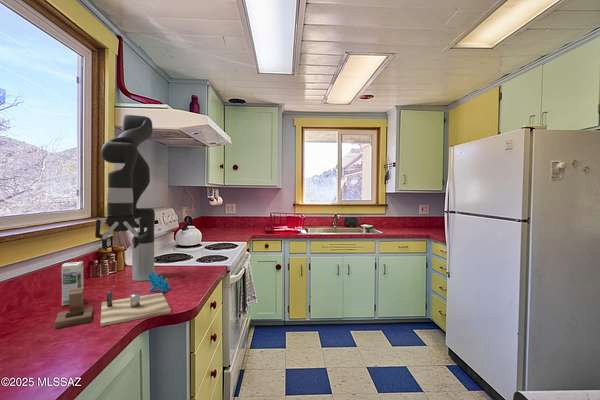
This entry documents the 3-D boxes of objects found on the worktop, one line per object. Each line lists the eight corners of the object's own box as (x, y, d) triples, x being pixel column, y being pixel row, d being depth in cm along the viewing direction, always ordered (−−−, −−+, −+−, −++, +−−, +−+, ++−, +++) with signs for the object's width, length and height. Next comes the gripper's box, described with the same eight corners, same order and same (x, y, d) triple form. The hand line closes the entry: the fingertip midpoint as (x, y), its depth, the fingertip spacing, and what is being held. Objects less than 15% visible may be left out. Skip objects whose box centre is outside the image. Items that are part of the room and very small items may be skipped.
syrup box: (61, 306, 106) (61, 265, 106) (65, 300, 112) (64, 262, 111) (80, 303, 109) (80, 264, 109) (83, 298, 114) (83, 260, 114)
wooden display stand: (91, 321, 94) (91, 298, 94) (54, 328, 89) (54, 303, 89) (93, 306, 106) (93, 285, 106) (61, 311, 101) (60, 290, 101)
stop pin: (106, 305, 104) (106, 291, 104) (112, 305, 105) (112, 291, 105) (106, 307, 103) (106, 293, 103) (112, 306, 104) (112, 292, 104)
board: (101, 305, 108) (101, 302, 108) (162, 295, 119) (162, 292, 118) (100, 326, 91) (100, 323, 91) (170, 312, 102) (170, 309, 102)
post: (130, 305, 105) (130, 294, 105) (139, 303, 107) (139, 292, 107) (130, 308, 103) (130, 296, 102) (140, 306, 104) (140, 295, 104)
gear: (160, 292, 117) (145, 273, 119) (149, 302, 117) (135, 283, 119) (176, 287, 128) (162, 269, 130) (166, 296, 128) (153, 279, 130)
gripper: (142, 200, 108) (142, 245, 109) (94, 201, 100) (95, 249, 101) (145, 201, 102) (145, 248, 103) (94, 202, 94) (95, 253, 94)
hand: (120, 248), depth 102 cm, fingers open, 8 cm apart
